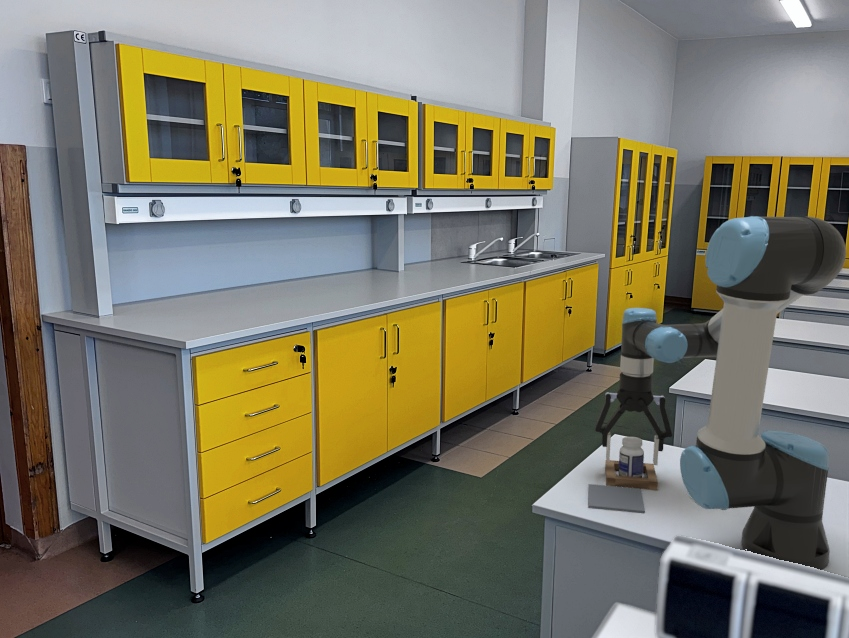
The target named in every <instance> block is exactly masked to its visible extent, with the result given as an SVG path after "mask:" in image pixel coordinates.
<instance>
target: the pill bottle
mask: <svg viewBox="0 0 849 638" xmlns="http://www.w3.org/2000/svg"><path fill="white" fill-rule="evenodd" d="M621 440H622V441H621V444H622V446H621V447H620V448H619V453H618V454H619V455H618V459H619V460H618V461H619V471H618V475H619V476H630V477H642V478H644V474H643V463H644V461H645V460H644V458H645V457H644V456H645V452H644V449H643V448H642V447H643V439H641V438H640V437H636V436H625V437H623V438H622V439H621Z"/></svg>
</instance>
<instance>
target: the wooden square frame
mask: <svg viewBox="0 0 849 638" xmlns="http://www.w3.org/2000/svg"><path fill="white" fill-rule="evenodd" d="M604 466H605V467H604V468H605V486H616V487H627V488H638V489H641V490H652V491H658V490H659V489H658V487H659V481H658V477H657V472H656V469H655V465H654V463H650V462H649V463H647V462H645V463H644V462H643V473H644V474H643V475H645V474H646V475H645V477H643V478H642V477H630V476H619V474H618V475H617V474H616V472H619V460H612V459H611V460H610V461H606V460H605V465H604Z"/></svg>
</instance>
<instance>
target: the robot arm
mask: <svg viewBox="0 0 849 638" xmlns="http://www.w3.org/2000/svg"><path fill="white" fill-rule="evenodd" d="M846 248H847V247H846V243H845V241H844V238H843V236H842V235H841V233H840V231H839V230H838V229H837V228H836V227H835V226H834V225H833V224H831V223H829V222H827V221H826V220H823V219H821V218H818V217H813V216H754V215H750V216H745V217H735V218H731V219H728V220H726V221H725V222H723V223H722V224H721V225H720V226H719V227H718V228H716V230H715V231H714V232H713V234H712V236H711V238H710V239H709V242H708V244H707V249H706V252H705V259H704V260H705V267H706V269H707V271H706V274H707V276H708V278H709V280H710V281H711V283H713V284H714V285H716V290H715V292H716V294H717V295H718V296H719V297H720V299H721V300H722V301H723V306H722V307H723V308H721V310H720V311H718V312H717V313H716V314H715V315H713V316H712V317H711V318H710V319H708V320H707V321H706V322H703V323H681V324H680V323H679V324H678V323H677V324H661V323H659V322H658V319H657V313H656V310H654V309H651V308H645V307H629V308H626V309H625V310H624V311H623V315H622V316H623V317H622V323H621V345H620V346H621V349H620V364H619V365H620V366H619V371H620V373H619V380H618V381H619V383H618V391H617V392H615V393H614V392H610V391H606V392H605V394H604V395H605V397H604V398H605V399H604V403H603V405H602V408H601V409H600V410H601V411H600V413H599V415H598V418H597V420H596V423H595V425H594V426H595V427H594V429H595V432H596V433H601V445H602V446H601V447H603V448H606V451H605V462H606V461H610V459H611V458H610V457H611V456H610V455H611V439H612V438H611V437H612V434H611V432H610V431H611V430H612V429H613V428H614V426H615V425H616V423H617V422H619V419H620V418H621V416H622V415H624V413H625V412H626V411H627V412H631V413H632V412H637V413H642V412H643V413H644V415H645V416H646V417H647V419H648V421H649V423H650V424H651V426H652V428H653V429H654V432H655V433H656V435H654V438H653V455H652V456H653V458H652V462H653V463H652V464H654V466H658V462H659V461H658V460H659V452H663V451H664V442H665V438H672V437H673V432H672V428H671V426H670V425H671V424H670V421H669V418H668V414H667V411H666V406H665V405H666V397H665V396H664V395H663V394H660V395H654V394H653V381H654V379H653V375H652V374H653V373H654V361H655V360H656V361H659V362H662V363H663V362H664V363H665V364H667V363H668V364H672V363H675V362H678V361H680V360H682V359H688V358H716V360H715V367H714V373H713V382H712V388H711V389H712V390H711V396H710V404H709V410H708V417H707V425H705V426H703V427H701V428H700V429H698V431H697V434H696V443H695V445H689V446H688V447H685V448H684V449H683V450H682V452H681V454H680V459H679V468H680V469H679V470H680V474H681V478H682V482H683V484H684V487H685V489H686V492H687V493H688V495H689V496H690V498H691V499H692V500H693V502H694V503H695V504H696V505H697V506H699V507H700V508H702V509H705V510H722V511H726V510H729V509H738V508H739V509H740V508H753V509H752V511H751V513H750V515H749V517H748V518H747V521H746V523H745V525H744V527H743V529H742V532H741V539H740V540H741V546H743V547H742V548H743V550H744V549H747V551H751V552H753V553H757V554H761V555H765V556H769V557H773V558H776V559H779V560H784V561H789V562H793V563H798V564H802V565H805V566H810V567H814V568H817V569H818V570H821V569H824V568H826V566H827V565H828V564H829V561H830V560H829V559H830V551H831V550H830V546H829V542H828V538H827V535H826V531H825V530H826V529H825V527H824V523H823V515H824V506H825V498H826V489H827V481H828V476H829V475H828V474H829V471H830V467H829V457H830V455H829V451H828V449H827V447H826V446H824V445H823V444H822V443H821V442H819V441H816V440H815V439H813V438H809V437H807V436H804V435H801V434H797V433H792V432H788V431H783V430H782V431H781V430H764V431H763V432H761V433H760V435H759V430H760V423H761V419H762V418H761V416H762V411H763V405H764V404H763V403H764V398H765V393H766V385H767V378H768V373H769V366H770V361H771V353H772V348H773V341H774V335H775V327H776V323H777V315H778V314H779V313H780V312H783V310H785V309H786V308H788V307H789V306H791V304H794V303H795V302H796V301H797V300H798V299H800V298H801V297H803V296H812V295H815V294H817V293H819V292H820V291H821V290H822V289H824V288H825V287H828V285H829V284H831V282H833V281H834V279H836V278H837V276H838V275H839V274H840V272H841V271H842V269H843V268H844V265H845V262H846V255H847V249H846ZM615 399H617V400H618V402H619V403H620V404H619V405H618V406H617V408H616V410H615V411H614V412H613V413H612V415H611V417H609V419H608V421H606V423H605V425H604V426H603V424H604V422H605V420H606V417H607V415H608V412H609V410H610V407H611V404H612V403H614V402H615ZM653 401H654V402H655V405H656V406H658V410H659V412H660V415H661V419H662V422H663V427H664V429H665V430H662V428H661V427H660V425H659V423H658V422H657V420H656V418H655V416H654V415H653V413H652V411H651V410H650V407H649V406H650V404H651V403H653Z"/></svg>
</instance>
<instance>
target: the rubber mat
mask: <svg viewBox="0 0 849 638" xmlns="http://www.w3.org/2000/svg"><path fill="white" fill-rule="evenodd" d="M587 488H588V489H587V491H588V492H587V494H588V495H587V496H588V498H587V499H588V502H587V503H588V504H587V505H588V508H589V509H598V510H607V511H617V512H618V511H619V512H629V513H639V514H640V513H641V514H646V507H645V503H644V498H643V493H642V489H639V488H628V487H617V486H606V484H605V485H603V484H593V483H588V487H587Z"/></svg>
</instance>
